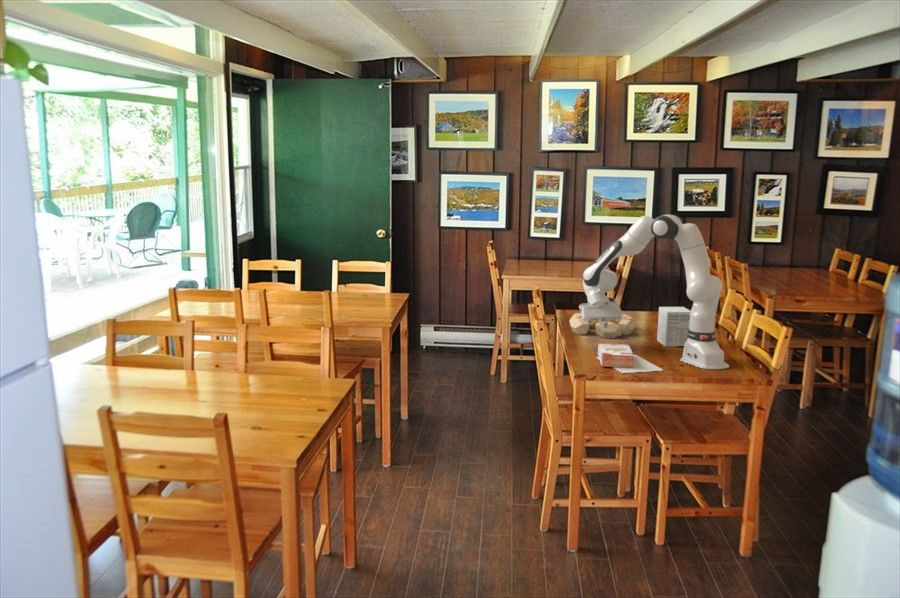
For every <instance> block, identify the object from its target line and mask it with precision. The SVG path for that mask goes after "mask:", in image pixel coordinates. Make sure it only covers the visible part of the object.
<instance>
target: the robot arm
mask: <svg viewBox="0 0 900 598" xmlns="http://www.w3.org/2000/svg"><path fill="white" fill-rule="evenodd" d="M654 237H655V238H656V239H660V240H675V241H676V242H677V245H678V247H679V251H680V256H681V258H682V262H683V265H684V270H685V280H686V295H687V298H688V299H689V300H690V301H691V302H693V303H692V307H691V309H690V320H689V329H688V332H687V337H688V339H687V341H686V343H685V346H684V347H683V350H682V351H683V352H682V353H683V354H682V357H681V358H680V360H679V361H680V362H682V361H683V362H682V363H685V364H687V363H688V365H690V364H691V365H690V366H693V365H694V366H693V367H696V368H698V367H699V368H698V369H701V368H702V370H724V369H728V368H730V365H729V364H728V363H726V362H725V351H724V350H723V349H721V347H720V346H719V343H718V342H717V341H716V340H717V339H718V335H717V334H716V330H715V326H716V324H715V323H716V316H717V315H716V313H717V310H718V306H719V301H720V298H721V297H720V296H721V292H722V289H723V283H722V280H721V278H720V277H719V276H718V277H717V275H712V274H711V272H710V262H711V260H710V257H709V254H708V250H707V247H706V243H705V240H704V238H703V236H702V233H701V231H700V229H699V227H698V225H696V224H695V223H684V221H683V219H682V218H681V217H680V216H678V215H676V214H668V213H667V214H663V215H659V216H657V217H655V218H653V217H651V216H649V215H641V216H640V217H639V218H638V219H637V220H636V221H635V222H633V224H631V226H629V228H628V230H627V231H626V232H625V233H624V235H623V236H621V237H620V238H618V239H617V240H615V241H612V243H611V244H609V246H607V248H606V249H604V251H603V252H602V253H601V254H600V255H599V256H598V257H596V259H595V260H594V261H593V262H592V263H590V264H589V265H588V266H587V267H586V268H585V269H584V271H583V273H582V285H583V291H584V294H585V295H586V299H587V303H586V302H585V303H583V302H582V303H581V304H579V306H578V309H579V311H580V313H581V317H582V320H583V321H598V323H599V324H600V325H601V326H602V328H608V327H609V325H608V322H610V321H609V320H620V319H621V317H622V314H623V312H622V310H621V307H620V305H619V304H618V303H617V302H618V300H617V299H616V298H614V297H611V296H608V295H606V293H608V292H610V291H613V290H614V289H615V288H616V287H617V285H618V282H619V281H618V280H619V278H618V275H617V273H616V272H615V271H612V270H610V269H606V268H607V267H608V266H609V265H610V264H611V263H612V262H613V261H614V260H615V259H617V258H619V257H624V256H626V257H627V256H636V255H638V254H640V253H641V252H642V251H643V250H644V249H645V248H646V246H648V244H649V242H650V241H651V240H652V239H653V238H654ZM604 320H605V322H606V323H603V322H602V321H604Z"/></svg>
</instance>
